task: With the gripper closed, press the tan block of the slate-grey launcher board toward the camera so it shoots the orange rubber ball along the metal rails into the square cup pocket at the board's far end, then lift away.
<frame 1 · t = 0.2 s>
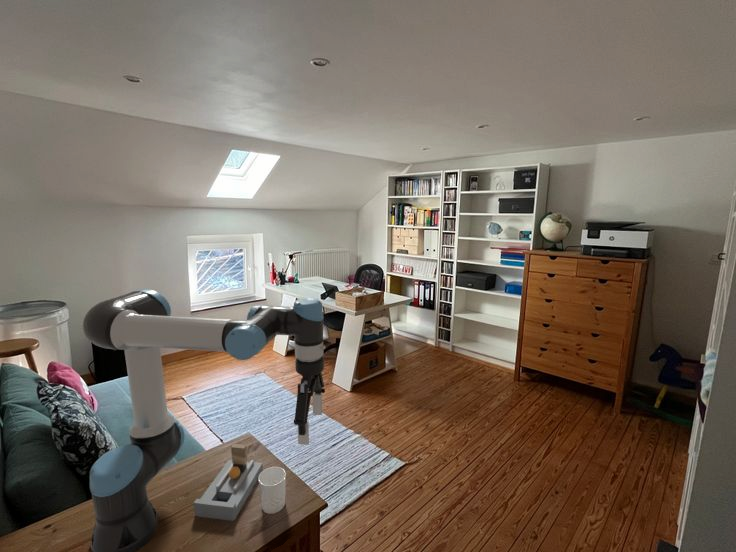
hand: (311, 428, 100), 28 cm above the table, fingers open, 13 cm apart
launcher board: (231, 491, 113), on the table
tan block: (239, 457, 118), point 7 cm above the table, slide at 0.0 cm
ball: (234, 472, 115), point 5 cm above the table, touching launcher board
white cup: (273, 505, 109), on the table
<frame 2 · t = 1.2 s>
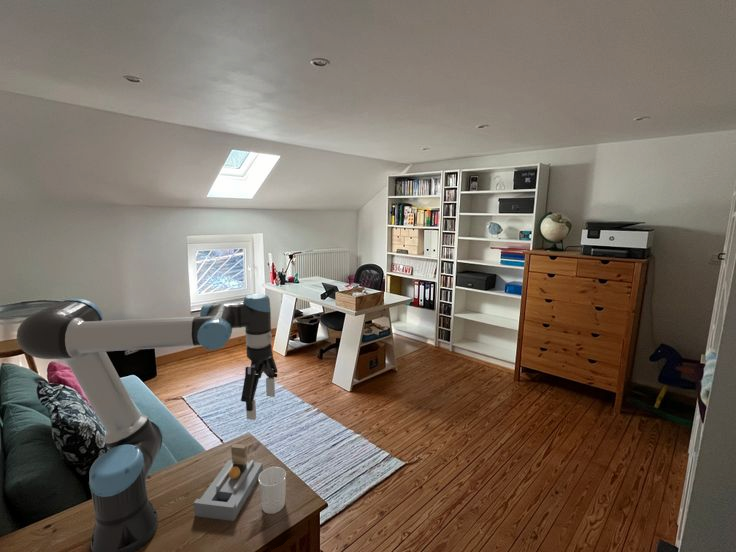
hand: (261, 406, 115), 25 cm above the table, fingers open, 13 cm apart
nothing on the table moved.
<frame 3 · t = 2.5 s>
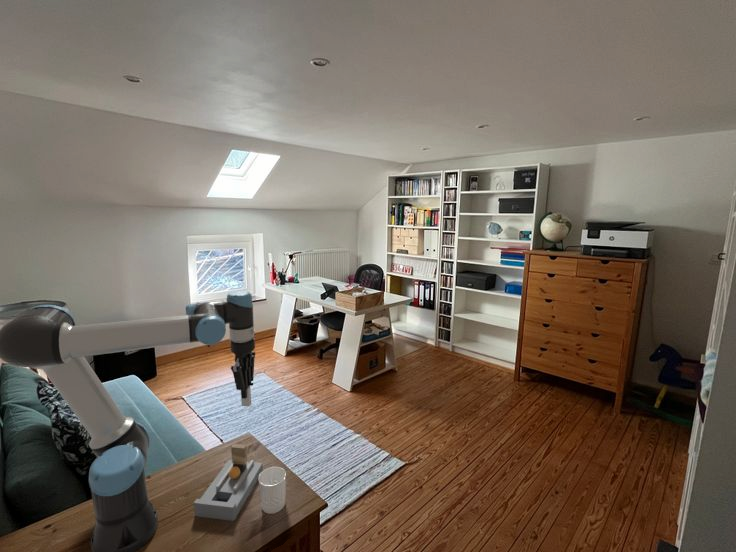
hand: (246, 404, 122), 22 cm above the table, fingers closed
nothing on the table moved.
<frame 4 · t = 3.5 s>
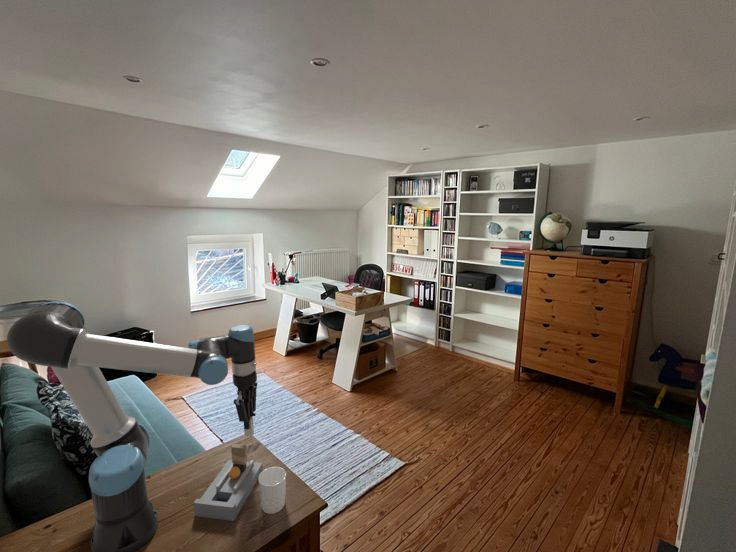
hand: (249, 434, 124), 11 cm above the table, fingers closed
nothing on the table moved.
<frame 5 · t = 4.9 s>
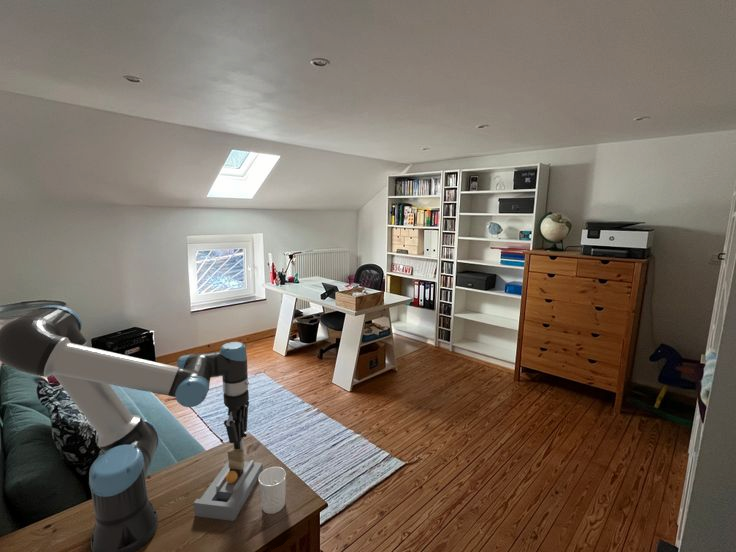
hand: (239, 456, 119), 7 cm above the table, fingers closed
tan block: (235, 462, 116), point 7 cm above the table, slide at 2.2 cm, touching gripper
ball: (231, 477, 113), point 5 cm above the table, tilted 55°, touching launcher board
everything else where it was.
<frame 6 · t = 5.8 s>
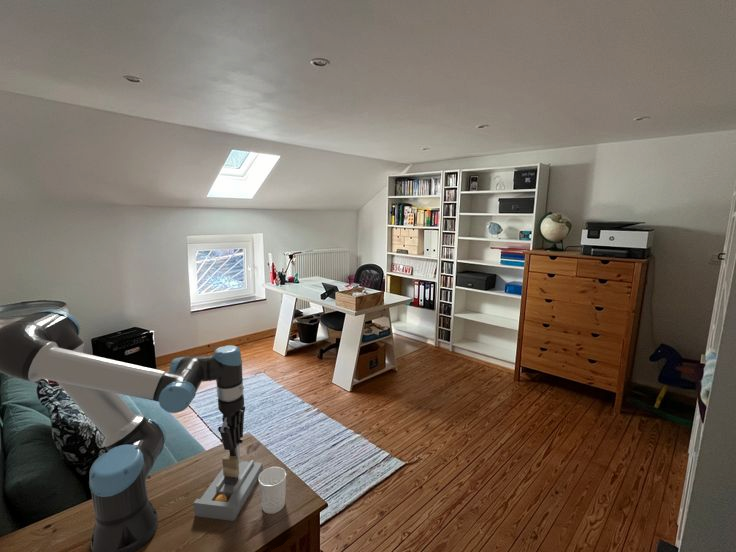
hand: (235, 463, 115), 7 cm above the table, fingers closed
tan block: (230, 470, 112), point 7 cm above the table, slide at 5.6 cm, touching gripper
ball: (220, 501, 107), point 2 cm above the table, tilted 59°, touching launcher board
everything else where it was.
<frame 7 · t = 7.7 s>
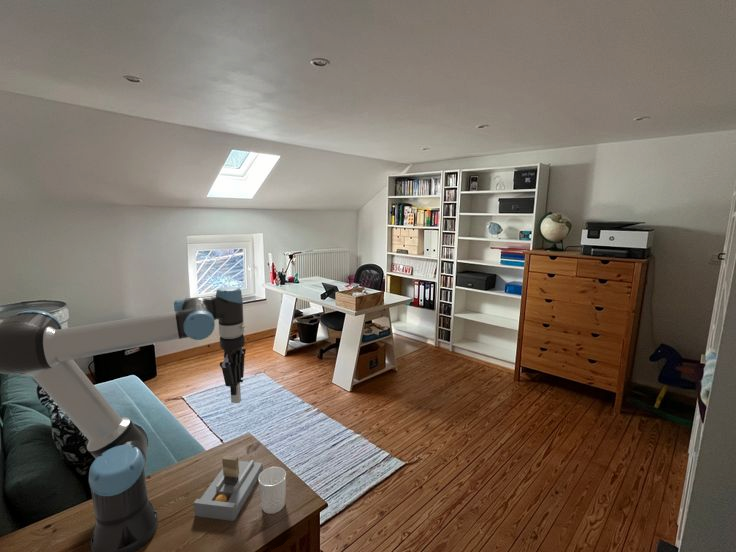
hand: (236, 401, 121), 24 cm above the table, fingers closed
tan block: (230, 470, 112), point 7 cm above the table, slide at 5.6 cm
everything else where it was.
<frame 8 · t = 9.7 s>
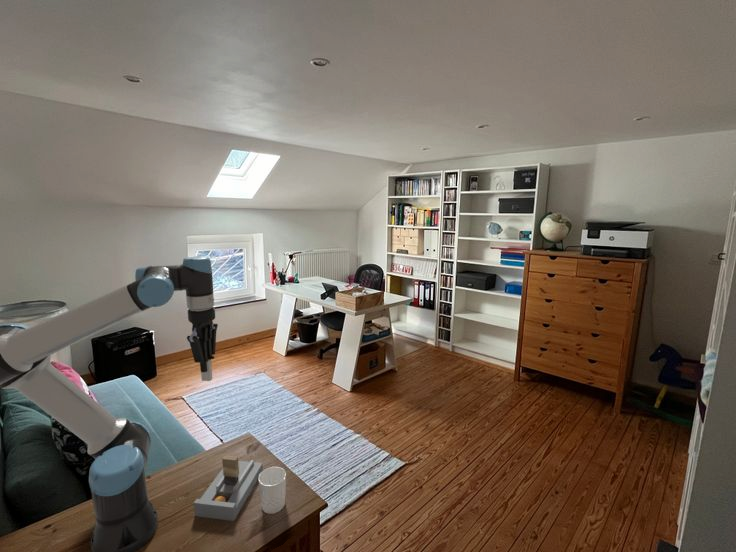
hand: (207, 379, 114), 34 cm above the table, fingers closed
ball: (219, 503, 106), point 2 cm above the table, tilted 39°, touching launcher board
everything else where it was.
at the end: ball 0.7 cm from the target spot on the launcher board, point 2.1 cm above the launcher board's base; tan block slide at 5.6 cm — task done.
